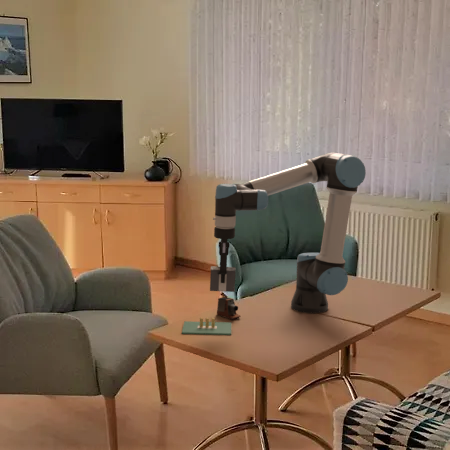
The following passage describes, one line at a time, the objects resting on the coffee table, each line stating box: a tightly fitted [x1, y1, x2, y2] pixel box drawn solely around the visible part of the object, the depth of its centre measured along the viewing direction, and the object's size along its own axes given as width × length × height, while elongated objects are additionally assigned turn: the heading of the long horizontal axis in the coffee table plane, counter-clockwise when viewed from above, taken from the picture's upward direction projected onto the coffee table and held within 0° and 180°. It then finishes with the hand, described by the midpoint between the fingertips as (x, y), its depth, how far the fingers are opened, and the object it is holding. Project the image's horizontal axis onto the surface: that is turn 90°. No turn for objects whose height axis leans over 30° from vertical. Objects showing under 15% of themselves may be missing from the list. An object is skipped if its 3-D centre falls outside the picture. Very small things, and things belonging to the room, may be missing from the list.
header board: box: [181, 317, 233, 336], centre depth 253 cm, size 18×12×4 cm, turn 89°
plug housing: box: [209, 265, 236, 293], centre depth 250 cm, size 9×5×8 cm, turn 90°
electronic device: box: [216, 296, 241, 321], centre depth 267 cm, size 4×10×8 cm, turn 43°
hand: (222, 288), depth 251 cm, fingers closed on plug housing, 5 cm apart
